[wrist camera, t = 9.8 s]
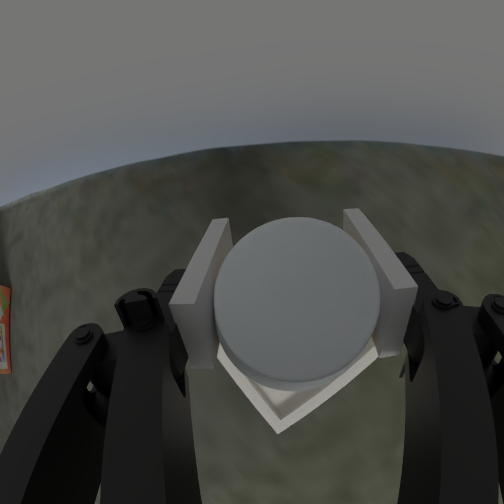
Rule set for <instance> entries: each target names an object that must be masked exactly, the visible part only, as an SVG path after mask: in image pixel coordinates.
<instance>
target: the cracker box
mask: <svg viewBox="0 0 504 504" xmlns="http://www.w3.org/2000/svg"><path fill="white" fill-rule="evenodd" d="M10 294H11V288H8V287H5V286H2V285H0V374H11V362H10V340H9V317H10Z"/></svg>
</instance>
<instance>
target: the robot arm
mask: <svg viewBox="0 0 504 504" xmlns="http://www.w3.org/2000/svg"><path fill="white" fill-rule="evenodd" d="M343 231H345V232H346V233H347V234H349V235H350V236H351V237H352V238H353V239H354V240H355V241H356V242H357V243H358V244H359V245H360V246H361V247H362V248H363V249H364V251H365V252H366V254H367V255H368V257H369V259H370V260H371V262H372V264H373V267H374V269H375V271H376V275H377V278H378V282H379V288H380V312H379V317H378V320H377V324H376V327H375V330H374V332H373V334H372V339H373V342H374V345H375V347H376V350H377V353H378V356H379V358H383V357H389V356H395V355H400V353H401V349H402V346H403V343H404V344H405V346H406V348H407V350H408V353H407V355H406V358H405V361H404V364H403V367H402V369H401V372H400V376H399V378H402V377H403V374H404V372H405V385H406V416H405V440H404V454H403V465H402V475H401V483H400V490H399V497H398V503H397V504H498V489H499V485H500V489H501V494H502V499H503V504H504V296H502V295H499V294H489V295H487V296H485V298H484V299H483V302H482V304H481V307H471V306H463V304H462V302H461V301H460V299H459V298H458V297H457V296H455V295H454V294H452V293H450V292H448V291H443V290H438V288H437V287H436V286H435V284H434V283H433V282H432V281H431V279H430V278H429V277H428V275H427V274H426V273H424V270H423V269H422V268H421V267H420V266H419V264H418V263H417V261H416V260H415V259H414V258H413V257H411V256H410V255H408V254H406V253H405V252H400V253H394V252H393V251H392V249H391V248H390V247H389V245H388V244H387V243H386V242H385V240H384V239H383V238H382V236H381V235H380V234H379V233H378V231H377V230H376V229H375V228H374V226H373V225H372V224H371V223H370V221H369V220H368V219H367V218H366V217H365V215H364V214H363V213H362V212H361V211H360V209H359V208H357V209H343ZM232 248H233V243H232V237H231V230H230V224H229V218H222V219H213V220H212V222H211V224H210V225H209V227H208V229H207V231H206V233H205V235H204V237H203V238H202V240H201V242H200V244H199V246H198V248H197V250H196V252H195V253H194V255H193V257H192V259H191V261H190V263H189V265H188V267H187V269H177V270H174V271H173V272H172V273H170V274H169V275H168V276H167V277H166V278H165V280H164V282H163V283H162V286H161V287H160V288H159V290H158V293H157V294H156V292H154V291H153V290H152V289H147V288H142V289H136V290H132V291H129V292H128V293H126V294H124V295H122V296H121V297H120V298H119V299H118V300H117V301H116V303H115V304H114V306H115V308H116V310H117V313H118V315H119V317H120V319H121V322H122V324H123V326H124V330H123V331H119V332H114V333H109V334H104V332H103V330H102V328H101V327H100V326H99V325H98V324H94V323H90V324H84V325H81V326H79V327H78V328H76V329H75V330H74V331H73V332H72V333H71V334H70V335H69V336H68V338H67V339H66V341H65V342H64V344H63V345H62V347H61V348H60V350H59V351H58V353H57V354H56V356H55V357H54V359H53V360H52V362H51V363H50V365H49V366H48V368H47V370H46V371H45V373H44V374H43V376H42V378H41V379H40V381H39V383H38V384H37V386H36V388H35V389H34V391H33V393H32V395H31V396H30V398H29V400H28V402H27V403H26V405H25V407H24V409H23V411H22V412H21V414H20V416H19V418H18V420H17V422H16V424H15V426H14V428H13V430H12V432H11V434H10V436H9V438H8V440H7V442H6V444H5V446H4V448H3V450H2V452H1V455H0V504H94V503H95V500H96V496H97V493H98V490H99V486H100V483H101V495H100V504H202V501H201V495H200V488H199V481H198V474H197V466H196V458H195V450H194V440H193V431H192V420H191V408H190V395H189V381H188V375H187V372H186V370H185V366H186V363H187V359H189V362H190V364H191V367H192V369H214V368H215V363H216V359H217V354H218V350H219V345H220V341H219V338H218V335H217V331H216V326H215V316H214V314H215V312H214V289H215V283H216V279H217V276H218V273H219V270H220V268H221V266H222V263H223V261H224V260H225V258H226V256H227V255H228V254H229V252H230V251H231V249H232ZM498 351H499V352H500V354H501V356H502V359H501V361H500V362H499V364H497V363H496V361H495V360H494V358H495V356H496V354H497V352H498ZM89 381H91V383H92V384H93V388H92V390H91V391H88V389H87V388H86V387H87V385H88V383H89Z"/></svg>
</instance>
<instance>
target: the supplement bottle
mask: <svg viewBox="0 0 504 504" xmlns="http://www.w3.org/2000/svg"><path fill="white" fill-rule="evenodd" d="M214 312H215V314H214V316H215V326H216V331H217V335H218V338H219V341H220V343H221V346H222V348H223V350H224V352H225V353H226V355H227V357H228V358H229V359H230V361H231V362H232V363H233V364H234V366H235V367H236V368H237V369H238V370H239V371H240V372H242V373H243V374H244V375H245V376H247V377H248V378H250V379H251V380H253V381H255V382H257V383H258V384H260V385H263V386H265V387H268V388H271V389H276V390H281V391H305V390H310V389H314V388H318V387H321V386H323V385H325V384H328V383H329V382H331V381H333V380H335V379H337V378H338V377H340V376H341V375H342V374H344V373H345V372H346V371H347V370H348V369H349V368H350V367H351V366H352V365H353V364H354V363H355V362H356V360H357V359H358V358H359V357H360V355H361V354H362V352H363V350H364V348H365V347H366V345H367V343H368V341H369V340H370V338H371V336H372V334H373V332H374V330H375V327H376V324H377V320H378V317H379V312H380V288H379V282H378V278H377V275H376V271H375V269H374V267H373V264H372V262H371V260H370V259H369V257H368V255H367V254H366V252H365V251H364V249H363V248H362V247H361V246H360V245H359V244H358V243H357V242H356V241H355V240H354V239H353V238H352V237H351V236H350V235H349V234H347V233H346V232H345V231H343V230H342V229H340V228H338V227H336V226H334V225H332V224H330V223H328V222H324V221H321V220H317V219H313V218H306V217H290V218H282V219H279V220H274V221H271V222H268V223H266V224H264V225H261V226H259V227H257V228H256V229H254V230H252V231H251V232H249V233H248V234H247V235H245V236H244V237H243V238H242V239H241V240H239V242H238V243H237V244H236V245H235V246H234V247H233V248H232V249H231V251H230V252H229V254H228V255H227V256H226V258H225V260H224V261H223V263H222V266H221V268H220V270H219V273H218V276H217V279H216V283H215V289H214Z"/></svg>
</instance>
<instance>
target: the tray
mask: <svg viewBox="0 0 504 504" xmlns="http://www.w3.org/2000/svg"><path fill="white" fill-rule="evenodd" d="M377 357H378V353H377V350H376V347H375V345H374V342H373V339H372V336H371V338H370V340H369V341H368V343H367V345H366V347H365V348H364V350H363V352H362V354H361V355H360V357H359V358H358V359H357V360H356V362H355V363H354V364H353V365H352V366H351V367H350V368H349V369H348V370H347V371H346V372H345V373H344V374H342V375H341V376H340V377H338V378H337V379H335V380H333V381H331V382H329V383H328V384H325V385H323V386H321V387H318V388H314V389H310V390H305V391H281V390H276V389H271V388H268V387H265V386H263V385H260V384H258V383H257V382H255V381H253V380H251V379H250V378H248V377H247V376H245V375H244V374H243V373H242V372H240V371H239V370H238V369H237V368H236V367H235V366H234V364H233V363H232V362H231V361H230V359H229V358H228V357H227V355H226V353H225V352H224V350H223V348H222V346H221V343H220V345H219V350H218V354H217V358H218V359H219V361H220V362H221V363H222V365H223V366H224V367H225V369H226V370H227V371H228V373H229V374H230V375H231V377H232V378H233V379H234V381H235V382H236V383H237V385H238V386H239V387H240V388H241V390H242V391H243V392H244V394H245V395H246V396H247V397H248V399H249V400H250V401H251V402H252V404H253V405H254V406H255V407H256V409H257V410H258V411H259V412H260V413H261V415H262V416H263V417H264V418H265V420H266V421H267V422H268V423H269V424H270V425H271V427H272V428H273V429H274V430H275V431H276V433H277V434H279V433H280V432H282V431H283V430H285V429H286V428H288V427H289V426H291V425H292V424H294V423H295V422H297V421H298V420H300V419H301V418H303V417H304V416H306V415H307V414H308V413H310V412H311V411H313V410H314V409H315V408H317V407H318V406H319V405H321V404H322V403H323V402H325V401H326V400H327V399H329V398H330V397H331V396H332V395H334V394H335V393H336V392H338V391H339V390H340V389H341V388H343V387H344V386H345V385H346V384H347V383H349V382H350V381H351V380H352V379H353V378H355V377H356V376H357V375H358V374H359V373H360V372H362V371H363V370H364V369H365V368H366V367H367V366H368V365H370V364H371V363H372V362H373V361H374V360H375V359H376V358H377Z"/></svg>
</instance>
